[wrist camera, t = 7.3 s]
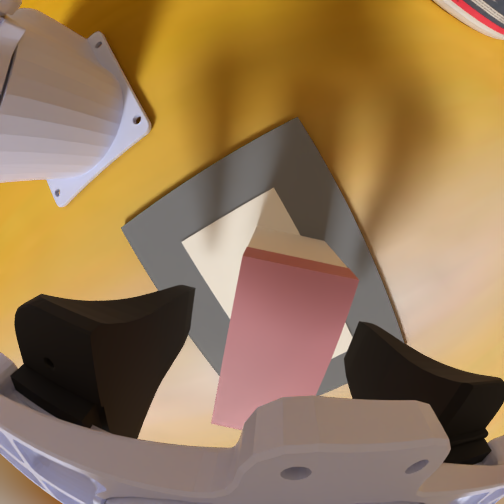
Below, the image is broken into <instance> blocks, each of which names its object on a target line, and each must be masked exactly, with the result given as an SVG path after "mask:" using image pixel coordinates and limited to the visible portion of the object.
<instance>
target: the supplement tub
mask: <svg viewBox="0 0 504 504" xmlns="http://www.w3.org/2000/svg"><path fill="white" fill-rule="evenodd" d="M433 1H434V2H435V3H436V4H438V5H439V6H440V7H441V8H443V9H444V10H445V11H447V12H448V13H450V14H451V15H452V16H454V17H455V18H457V19H458V20H460V21H461V22H463V23H464V24H466V25H468V26H469V27H471V28H473V29H474V30H476V31H478V32H480V33H482V34H484V35H487V36H489V37H492V38H495V39H501V40H504V0H433Z"/></svg>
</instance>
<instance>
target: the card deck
mask: <svg viewBox="0 0 504 504" xmlns="http://www.w3.org/2000/svg"><path fill="white" fill-rule="evenodd" d="M358 283H359V279H358V278H357V277H356V276H355V274H354V273H353V272H352V271H351V270H350V269H349V268H347V266H346V265H345V264H344V263H343V262H342V261H341V259H340V258H339V257H338V256H337V255H336V254H335V252H334V251H333V250H332V249H331V248H330V247H329V246H328V244H327V243H326V242H325V241H323V240H318V239H314V238H309V237H305V236H300V235H296V234H291V233H286V232H282V231H277V230H272V229H268V228H263V227H258V226H257V227H256V229H255V231H254V233H253V236H252V238H251V240H250V242H249V245H248V247H246V249H245V251H244V254H243V256H242V261H241V266H240V271H239V276H238V282H237V287H236V292H235V297H234V302H233V308H232V313H231V318H230V324H229V329H228V334H227V340H226V345H225V350H224V356H223V361H222V367H221V372H220V377H219V383H218V388H217V394H216V399H215V405H214V410H213V416H212V422H211V424H216V425H220V426H225V427H229V428H234V429H239V430H243V426H244V423H245V422H246V421H247V419H248V418H249V417H250V416H251V415H252V413H253V412H254V411H255V410H256V408H257V407H260V406H262V405H265V404H267V403H270V402H272V401H275V400H277V399H279V398H282V397H296V396H312V395H314V396H316V394H317V391H318V389H319V387H320V385H321V382H322V380H323V378H324V375H325V373H326V371H327V368H328V366H329V363H330V361H331V358H332V356H333V354H334V351H335V348H336V346H337V343H338V341H339V338H340V335H341V333H342V330H343V327H344V324H345V322H346V319H347V316H348V313H349V310H350V307H351V304H352V301H353V298H354V295H355V292H356V289H357V286H358Z"/></svg>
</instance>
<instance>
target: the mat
mask: <svg viewBox="0 0 504 504" xmlns="http://www.w3.org/2000/svg"><path fill="white" fill-rule="evenodd" d="M257 226H258V227H263V228H268V229H272V230H277V231H282V232H286V233H291V234H296V235H300V236H305V237H309V238H314V239H318V240H323V241H325V242H326V243H327V244H328V246H329V247H330V248H331V249H332V250H333V251H334V252H335V254H336V255H337V256H338V257H339V258H340V259H341V261H342V262H343V263H344V264H345V265H346V266H347V268H349V269H350V270H351V271H352V272H353V273H354V274H355V276H356V277H357V278H358V279H359V283H358V286H357V289H356V292H355V295H354V298H353V301H352V304H351V307H350V310H349V313H348V316H347V319H346V322H345V324H344V327H343V330H342V333H341V335H340V338H339V341H338V343H337V346H336V348H335V351H334V354H333V356H332V358H331V361H330V363H329V366H328V368H327V371H326V373H325V375H324V378H323V380H322V382H321V385H320V387H319V389H318V391H317V394H316V396H319V395H322V394H324V393H326V392H329V391H331V390H333V389H336V388H338V387H340V386H342V385H344V384H347V383H348V382H347V378H346V373H345V365H344V357H345V355H346V352H347V350H348V348H349V345H350V343H351V340H352V338H353V335H354V333H355V330H356V328H357V325H358V322H359V321H362V322H368V323H372V324H375V325H377V326H379V327H380V328H382V329H384V330H385V331H387V332H388V333H390V334H391V335H393V336H394V337H396V338H397V339H399V340H400V341H402V342H403V343H404V340H403V337H402V334H401V331H400V328H399V325H398V322H397V319H396V317H395V314H394V311H393V308H392V306H391V303H390V300H389V298H388V295H387V292H386V290H385V287H384V285H383V282H382V280H381V277H380V275H379V273H378V270H377V268H376V265H375V263H374V261H373V258H372V256H371V254H370V251H369V249H368V247H367V245H366V243H365V240H364V238H363V236H362V234H361V232H360V230H359V227H358V225H357V223H356V221H355V219H354V217H353V215H352V213H351V211H350V209H349V207H348V205H347V203H346V201H345V199H344V197H343V195H342V193H341V191H340V189H339V187H338V186H337V184H336V182H335V180H334V178H333V176H332V174H331V173H330V171H329V169H328V167H327V165H326V164H325V162H324V160H323V158H322V157H321V155H320V153H319V151H318V150H317V148H316V146H315V145H314V143H313V141H312V139H311V138H310V136H309V135H308V133H307V131H306V130H305V128H304V126H303V125H302V123H301V122H300V120H299V118H298V117H296V118H294V119H292V120H290V121H289V122H287V123H285V124H283V125H281V126H279V127H277V128H275V129H273V130H271V131H270V132H268V133H266V134H264V135H262V136H260V137H259V138H257V139H255V140H253V141H252V142H250V143H248V144H246V145H245V146H243V147H241V148H239V149H238V150H236V151H234V152H233V153H231V154H229V155H227V156H226V157H224V158H223V159H221V160H219V161H218V162H216V163H214V164H213V165H211V166H210V167H208V168H206V169H205V170H203V171H202V172H200V173H198V174H197V175H195V176H194V177H192V178H191V179H189V180H188V181H186V182H185V183H183V184H182V185H180V186H179V187H177V188H176V189H174V190H173V191H171V192H170V193H168V194H167V195H165V196H164V197H163V198H161V199H160V200H158V201H157V202H155V203H154V204H153V205H151V206H150V207H148V208H147V209H146V210H144V211H143V212H142V213H140V214H139V215H137V216H136V217H135V218H133V219H132V220H131V221H129V222H128V223H127V224H125V225H124V226H123V227H121V229H122V231H123V233H124V235H125V236H126V238H127V240H128V242H129V243H130V245H131V247H132V249H133V250H134V252H135V254H136V255H137V257H138V259H139V260H140V262H141V264H142V265H143V267H144V269H145V270H146V272H147V273H148V275H149V277H150V278H151V280H152V281H153V283H154V285H155V286H156V288H157V289H158V291H160V290H163V289H167V288H170V287H173V286H177V285H186V286H190V287H194V288H196V289H195V296H194V303H193V311H192V319H191V327H190V331H189V334H188V335H189V336H190V338H191V339H192V340H193V342H194V343H195V345H196V346H197V347H198V349H199V350H200V351H201V353H202V354H203V355H204V357H205V358H206V359H207V361H208V362H209V363H210V364H211V366H212V367H213V368H214V370H215V371H216V372H217V373H218V375H219V376H220V372H221V367H222V361H223V356H224V350H225V345H226V340H227V334H228V329H229V324H230V318H231V313H232V308H233V302H234V297H235V292H236V287H237V282H238V276H239V271H240V266H241V261H242V256H243V254H244V251H245V249H246V247H248V245H249V242H250V240H251V238H252V236H253V233H254V231H255V229H256V227H257Z"/></svg>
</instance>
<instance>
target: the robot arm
mask: <svg viewBox="0 0 504 504" xmlns="http://www.w3.org/2000/svg"><path fill="white" fill-rule="evenodd" d="M21 4H22V1H21V0H0V183H2V182H13V181H26V180H42V179H47V182H48V184H49V187H50V189H51V192H52V194H53V197H54V199H55V201H56V204H57V205H58V206H59V207H64V206H66V205H67V204H68V203H69V202H70V201H71V200H72V199H73V198H74V197H75V196H76V195H77V194H78V193H79V192H80V191H81V190H82V189H83V188H84V187H86V186H87V185H88V184H89V183H90V182H91V181H92V180H93V179H94V178H95V177H96V176H97V175H99V174H100V173H101V172H102V171H103V170H104V169H105V168H106V167H108V166H109V165H110V164H111V163H112V162H113V161H115V160H116V159H117V158H118V157H119V156H121V155H122V154H123V153H124V152H125V151H127V150H128V149H129V148H130V147H132V146H133V145H134V144H135V143H137V142H138V141H139V140H141V139H142V138H143V137H145V136H146V135H147V134H148V133H149V132H150V130H151V122H150V120H149V118H148V117H147V115H146V113H145V111H144V109H143V108H142V106H141V104H140V102H139V100H138V99H137V97H136V95H135V93H134V91H133V89H132V87H131V86H130V84H129V82H128V80H127V78H126V76H125V74H124V73H123V71H122V69H121V67H120V65H119V63H118V61H117V59H116V58H115V56H114V54H113V52H112V50H111V48H110V46H109V44H108V42H107V40H106V38H105V37H104V35H103V33H101V32H100V31H97V32H95V33H94V34H92V35H91V36H90V37H89V38H88V39H85V38H84V37H82V36H80V35H79V34H77V33H76V32H74V31H72V30H71V29H69V28H67V27H66V26H64V25H62V24H61V23H59V22H57V21H56V20H54V19H52V18H50V17H49V16H47V15H45V14H43V13H42V12H40V11H38V10H35V9H31V8H20V9H18V8H19V7H20V5H21ZM101 44H102V45H101ZM100 45H101V46H100ZM99 46H100V47H99ZM140 116H141V121H140V122H139V123H138V124H136V119H137V118H138V117H140ZM59 190H60V195H59ZM195 289H196V288H194V287H190V286H186V285H177V286H173V287H170V288H167V289H163V290H160V291H157V292H154V293H150V294H146V295H142V296H138V297H133V298H128V299H120V300H109V301H82V300H71V299H64V298H59V297H53V296H48V295H44V294H40V295H38V296H37V297H35V298H33V299H31V300H30V301H28V302H26V303H24V304H23V305H21V306H20V307H19V308H18V309H17V311H16V314H15V331H16V336H17V341H18V344H19V348H20V352H21V356H22V359H23V363H24V364H23V365H22V366H21V367H20V368H19V369H18V368H17V367H16V365H15V364H14V363H13V362H12V361H11V360H10V359H9V358H8V357H6V356H5V355H4V354H2V353H1V352H0V454H1V455H2V456H3V457H5V458H6V459H7V460H8V461H9V462H10V463H11V464H13V465H14V466H15V467H16V468H17V469H18V470H19V471H21V472H22V473H23V474H24V475H25V476H27V477H28V478H29V479H30V480H32V481H33V482H34V483H35V484H37V485H38V486H39V487H40V488H42V489H43V490H44V491H46V492H47V493H49V494H50V495H51V496H53V497H54V498H56V499H57V500H59V501H60V502H61V503H63V504H495V503H496V502H497V501H499V500H500V499H501V498H502V497H503V496H504V435H503V436H500V437H497V438H495V439H493V440H491V441H490V442H488V443H487V442H486V440H485V439H484V438H486V437H487V436H488V432H487V430H486V429H485V428H486V427H487V425H488V424H489V423H490V421H491V420H492V419H493V417H494V416H495V415H496V413H497V412H498V410H499V409H500V407H501V406H502V404H503V402H504V381H503V380H502V379H501V378H498V377H492V376H485V375H478V374H474V373H469V372H465V371H462V370H459V369H455V368H453V367H450V366H447V365H445V364H442V363H440V362H437V361H435V360H433V359H431V358H429V357H427V356H425V355H423V354H421V353H420V352H418V351H416V350H414V349H413V348H411V347H409V346H408V345H406V344H405V343H403V342H402V341H400V340H399V339H397V338H396V337H394V336H393V335H391V334H390V333H388V332H387V331H385V330H384V329H382V328H380V327H379V326H377V325H375V324H372V323H368V322H362V321H359V322H358V325H357V328H356V330H355V333H354V335H353V338H352V340H351V343H350V345H349V348H348V350H347V352H346V355H345V357H344V365H345V373H346V378H347V382H348V385H349V389H350V392H351V395H352V399H347V398H334V397H324V396H314V395H312V396H296V397H282V398H279V399H277V400H275V401H272V402H270V403H267V404H265V405H262V406H260V407H257V408H256V410H255V411H254V412H253V413H252V415H251V416H250V417H249V418H248V419H247V421H246V422H245V423H244V426H243V430H242V433H241V436H240V439H239V441H238V442H237V444H236V446H234V447H232V448H217V447H198V446H186V445H176V444H167V443H159V442H152V441H146V440H140V439H137V438H138V435H139V433H140V430H141V427H142V425H143V422H144V419H145V417H146V414H147V412H148V410H149V407H150V405H151V402H152V400H153V398H154V396H155V393H156V391H157V389H158V387H159V385H160V383H161V381H162V379H163V378H164V376H165V375H166V373H167V371H168V370H169V368H170V367H171V365H172V363H173V362H174V360H175V359H176V357H177V355H178V354H179V352H180V350H181V349H182V347H183V345H184V343H185V341H186V338H187V336H188V334H189V331H190V327H191V319H192V311H193V303H194V296H195Z"/></svg>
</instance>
